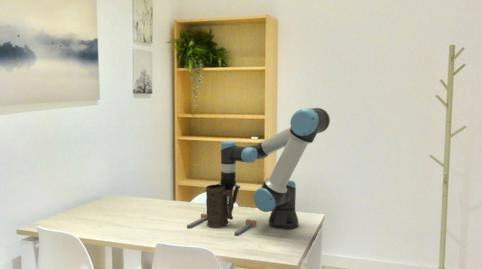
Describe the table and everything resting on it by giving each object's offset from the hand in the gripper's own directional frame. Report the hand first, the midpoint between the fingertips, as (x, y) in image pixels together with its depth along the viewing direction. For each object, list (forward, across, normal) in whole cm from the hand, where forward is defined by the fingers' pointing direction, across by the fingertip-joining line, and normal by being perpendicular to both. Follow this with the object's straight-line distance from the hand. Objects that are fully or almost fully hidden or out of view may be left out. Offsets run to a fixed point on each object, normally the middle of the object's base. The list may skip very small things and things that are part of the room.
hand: (228, 216), depth 229 cm
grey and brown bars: (+3, 0, +10) cm, 10 cm away
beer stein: (+3, +1, +6) cm, 7 cm away
